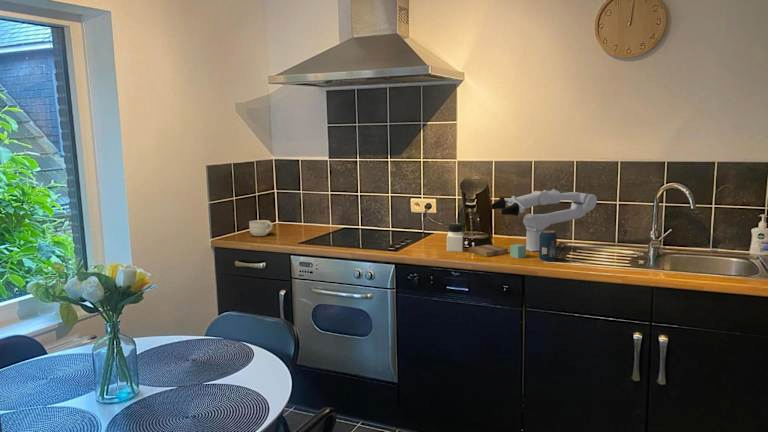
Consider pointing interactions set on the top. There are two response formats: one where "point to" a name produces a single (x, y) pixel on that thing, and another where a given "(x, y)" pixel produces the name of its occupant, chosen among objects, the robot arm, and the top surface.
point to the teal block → (518, 251)
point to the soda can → (547, 245)
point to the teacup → (260, 227)
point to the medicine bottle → (455, 238)
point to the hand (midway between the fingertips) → (496, 209)
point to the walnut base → (488, 250)
